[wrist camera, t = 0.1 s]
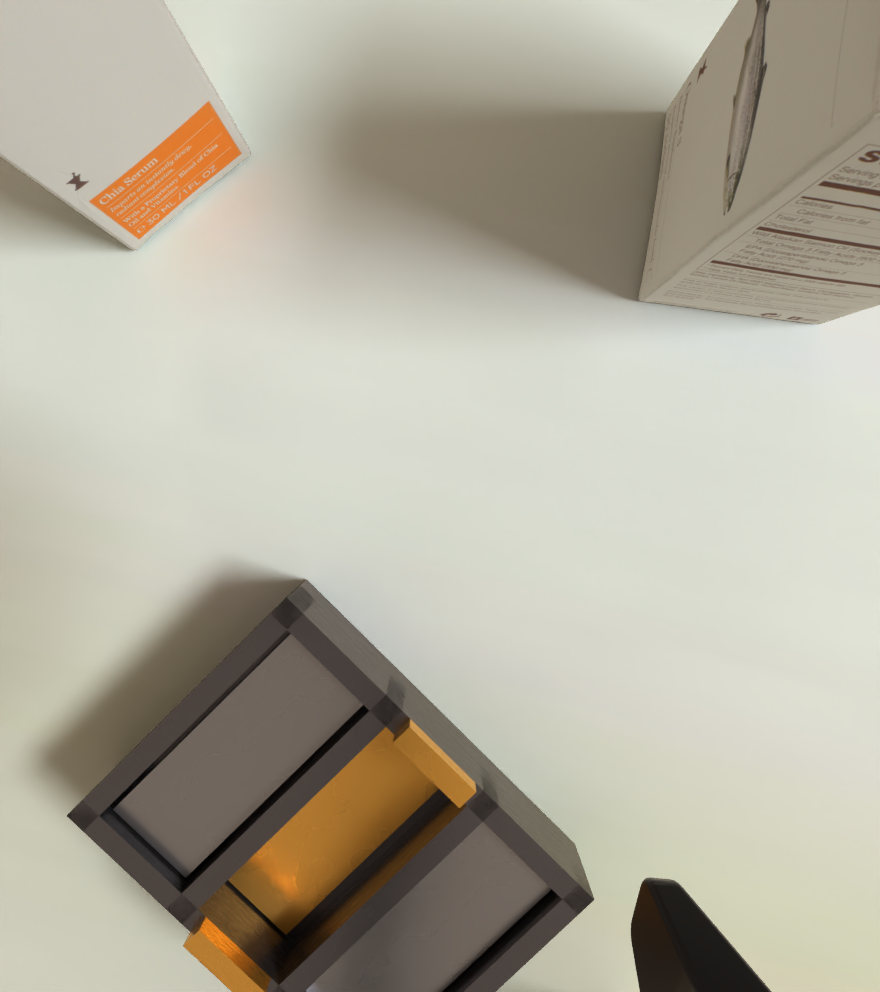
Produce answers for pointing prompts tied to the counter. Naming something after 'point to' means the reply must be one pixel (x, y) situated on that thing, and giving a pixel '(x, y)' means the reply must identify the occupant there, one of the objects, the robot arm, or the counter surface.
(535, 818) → the rack
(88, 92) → the skincare box
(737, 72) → the supplement box
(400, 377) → the counter surface
